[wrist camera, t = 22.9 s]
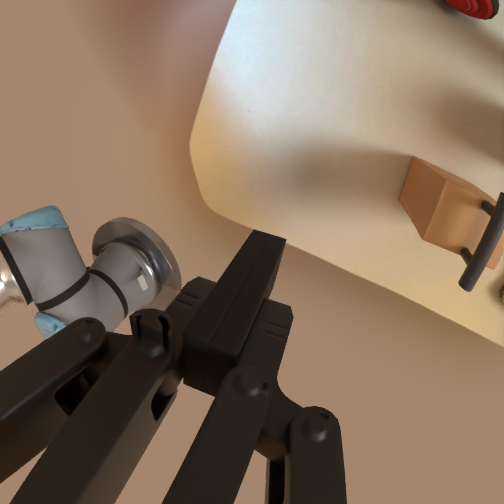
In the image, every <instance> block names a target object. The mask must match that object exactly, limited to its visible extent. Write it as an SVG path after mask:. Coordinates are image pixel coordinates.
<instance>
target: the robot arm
mask: <svg viewBox="0 0 504 504" xmlns="http://www.w3.org/2000/svg"><path fill="white" fill-rule="evenodd" d="M0 235H1V236H0V314H2V313H3V312H4V311H5V310H7V309H8V308H9V307H10V306H12V305H13V304H18V305H21V306H27V305H28V304H30V303H31V302H32V301H34V303H35V305H36V306H37V308H38V310H39V312H37V313H36V316H35V323H36V324H37V327H38V329H39V330H40V331H41V333H42V334H43V335H44V337H45V338H46V340H45V341H43V342H42V343H40V344H39V345H37V346H36V347H35V348H33V349H31V350H30V351H29V352H27V353H26V354H24V355H23V356H21V357H20V358H18V359H17V360H16V361H14V362H13V363H11V364H10V365H9V366H7V367H6V368H4V369H3V370H2V371H0V483H2V482H3V481H4V480H5V479H7V478H8V477H9V476H11V475H12V474H13V473H14V472H16V471H17V470H18V469H20V468H21V467H22V466H24V465H25V464H26V463H27V462H29V461H30V460H31V459H32V458H34V457H35V456H36V455H38V454H39V453H40V452H41V451H42V450H44V449H45V448H46V447H47V449H46V450H45V452H44V453H43V454H42V456H41V457H40V459H39V460H38V461H37V463H36V464H35V466H34V467H33V469H32V470H31V472H30V473H29V475H28V476H27V478H26V479H25V481H24V482H23V484H22V485H21V487H20V488H19V490H18V491H17V493H16V495H15V496H14V498H13V499H12V501H11V502H10V504H114V503H115V502H116V500H117V498H118V496H119V495H120V493H121V491H122V490H123V488H124V486H125V484H126V483H127V481H128V479H129V478H130V476H131V474H132V472H133V470H134V469H135V467H136V466H137V464H138V462H139V460H140V459H141V457H142V455H143V454H144V452H145V450H146V448H147V447H148V445H149V443H150V441H151V440H152V438H153V436H154V434H155V433H156V431H157V429H158V428H159V426H160V424H161V422H162V421H163V419H164V417H165V415H166V414H167V412H168V410H169V408H170V407H171V405H172V403H173V402H174V400H175V398H176V395H177V387H178V385H179V383H180V381H181V380H182V378H183V383H184V384H185V385H187V386H190V387H192V388H195V389H197V390H200V391H202V392H204V393H207V394H209V395H212V396H214V397H215V399H214V401H213V403H212V405H211V407H210V409H209V411H208V413H207V415H206V417H205V419H204V421H203V423H202V425H201V427H200V429H199V431H198V433H197V435H196V437H195V439H194V441H193V443H192V445H191V447H190V450H189V452H188V453H187V455H186V457H185V459H184V461H183V463H182V465H181V467H180V469H179V471H178V473H177V475H176V477H175V479H174V481H173V483H172V485H171V487H170V488H169V491H168V492H167V494H166V496H165V498H164V500H163V502H162V504H233V503H234V500H235V498H236V496H237V493H238V491H239V488H240V486H241V483H242V480H243V478H244V475H245V472H246V470H247V467H248V465H249V462H250V459H251V456H252V454H253V451H254V450H256V451H257V452H259V453H260V454H262V455H263V456H265V457H266V458H267V466H266V468H267V469H266V489H265V490H266V491H265V504H347V498H346V483H345V470H344V461H343V460H344V459H343V449H342V439H341V430H340V425H339V422H338V419H337V418H336V417H335V416H334V415H333V413H331V412H330V411H328V410H326V409H325V408H322V407H317V406H311V407H305V408H302V407H301V406H299V405H298V404H296V403H295V402H293V401H291V400H290V399H289V398H288V397H286V396H285V395H284V394H283V392H282V391H281V390H280V388H279V385H278V382H277V375H278V370H279V367H280V363H281V360H282V357H283V353H284V349H285V346H286V343H287V339H288V336H289V332H290V328H291V325H292V321H293V314H292V310H291V306H288V305H285V304H282V303H279V302H276V301H273V300H270V299H269V296H270V294H271V291H272V289H273V286H274V282H275V279H276V275H277V272H278V268H279V265H280V261H281V257H282V254H283V250H284V247H285V243H286V239H284V238H281V237H278V236H274V235H271V234H268V233H264V232H261V231H258V230H253V231H252V233H251V234H250V236H249V237H248V239H247V240H246V241H245V243H244V244H243V246H242V247H241V249H240V250H239V251H238V253H237V254H236V256H235V257H234V259H233V260H232V262H231V263H230V265H229V266H228V268H227V269H226V270H225V272H224V273H223V275H222V276H221V277H220V279H219V280H218V282H217V283H216V282H213V281H211V280H208V279H204V278H201V277H197V278H195V279H193V280H191V281H189V282H188V283H187V284H186V285H185V286H184V287H183V289H182V290H181V291H180V293H178V295H177V296H176V297H175V299H174V300H173V301H172V302H171V303H170V305H169V306H168V307H167V308H166V309H165V311H164V312H163V311H162V310H158V309H154V308H146V309H141V310H138V309H140V308H142V307H145V306H147V305H149V304H150V303H151V302H152V301H153V300H154V299H155V298H156V297H157V295H158V293H159V287H160V284H159V278H158V275H157V272H156V270H155V268H154V266H153V264H152V262H151V261H150V259H149V258H148V257H147V256H146V255H145V253H144V252H142V251H141V250H140V249H139V248H138V247H137V246H135V245H133V244H132V243H130V242H127V241H124V240H113V241H111V242H110V243H108V244H107V245H105V246H104V247H103V248H102V250H101V251H100V253H99V255H98V256H97V258H96V259H95V261H94V263H93V264H92V266H91V267H86V266H85V264H84V262H83V260H82V258H81V256H80V254H79V252H78V249H77V247H76V245H75V243H74V241H73V238H72V236H71V233H70V231H69V226H68V225H67V224H66V222H65V220H64V218H63V216H62V214H61V212H60V210H59V209H58V208H57V207H56V206H46V207H42V208H39V209H36V210H34V211H31V212H28V213H26V214H23V215H21V216H19V217H17V218H15V219H13V220H11V221H9V222H6V223H4V224H2V225H1V226H0ZM136 310H138V311H136ZM134 311H135V312H134ZM132 312H134V313H133V314H132V315H130V316H129V318H130V324H131V329H132V335H123V334H118V333H113V331H114V330H115V329H116V328H117V326H118V325H119V324H120V323H121V322H122V321H123V320H124V319H125V318H126V316H127V315H128V314H130V313H132Z"/></svg>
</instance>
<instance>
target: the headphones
mask: <svg viewBox="0 0 504 504" xmlns="http://www.w3.org/2000/svg"><path fill="white" fill-rule="evenodd" d="M445 1H446V2H447V3H449V4H450V5H451V6H453V7H454V8H456V9H457V10H459V11H460V12H462V13H464V14H466V15H469V16H472V17H475V18H478V19H484V20H487V19H492V18H493V17H494V16H495V15H496V14H497V13H498V9H499V1H498V0H445Z"/></svg>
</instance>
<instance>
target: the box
mask: <svg viewBox="0 0 504 504" xmlns="http://www.w3.org/2000/svg"><path fill="white" fill-rule="evenodd" d="M399 200H400V201H401V203H402V205H403V206H404V208H405V210H406V211H407V213H408V215H409V217H410V218H411V220H412V222H413V224H414V225H415V227H416V229H417V231H418V233H419V235H420V236H421V238H422V240H424V241H427V242H429V243H432V244H434V245H437V246H439V247H442V248H444V249H447V250H449V251H452V252H454V253H456V254H459V255H461V256H462V258H463V259H464V261H465V263H466V264H467V267H466V269H465V271H464V273H463V274H462V276H461V278H460V280H459V282H458V283H459V285H460V286H461V287H462V288H463V289H464V290H466V291H468V292H470V291H472V289H473V287H474V286H475V284H476V282H477V281H478V279H479V277H480V275H481V274H482V272H483V270H484V268H485V266H486V267H489V268H491V269H493V270H494V269H495V268H496V266H497V264H498V262H499V260H500V258H501V256H502V254H503V252H504V193H503V192H500V195H499V198H498V200H497V201H495V200H494V199H493V198H491V197H490V196H489V195H487V194H486V193H485V192H483V191H482V190H481V189H479V188H478V187H476V186H475V185H473V184H471V183H470V182H468V181H466V180H464V179H462V178H460V177H458V176H456V175H454V174H452V173H450V172H448V171H446V170H444V169H441V168H439V167H437V166H435V165H433V164H431V163H428V162H426V161H424V160H421V159H419V158H417V157H413V159H412V163H411V166H410V169H409V172H408V175H407V178H406V181H405V184H404V187H403V189H402V192H401V195H400V198H399Z"/></svg>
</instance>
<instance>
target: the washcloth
mask: <svg viewBox="0 0 504 504" xmlns="http://www.w3.org/2000/svg"><path fill="white" fill-rule="evenodd" d="M500 299H501V302H502V303H503V305H504V291H503V293H502V296H501V298H500Z"/></svg>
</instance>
